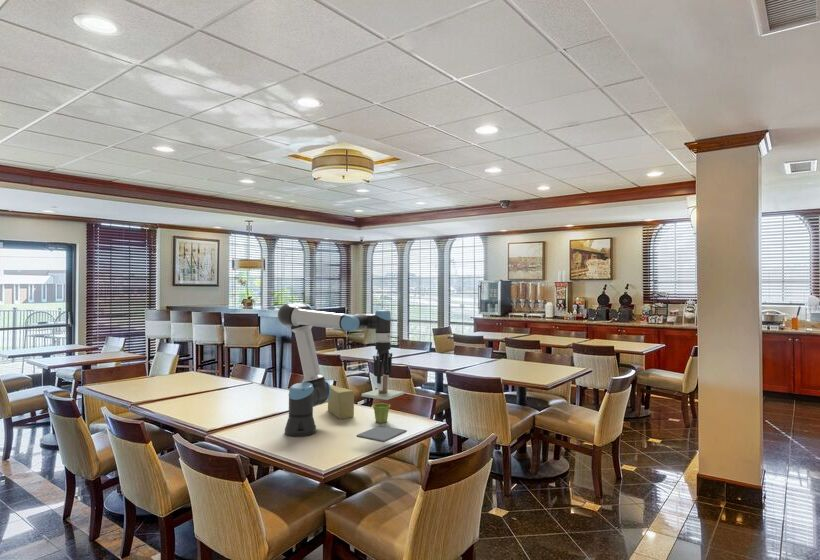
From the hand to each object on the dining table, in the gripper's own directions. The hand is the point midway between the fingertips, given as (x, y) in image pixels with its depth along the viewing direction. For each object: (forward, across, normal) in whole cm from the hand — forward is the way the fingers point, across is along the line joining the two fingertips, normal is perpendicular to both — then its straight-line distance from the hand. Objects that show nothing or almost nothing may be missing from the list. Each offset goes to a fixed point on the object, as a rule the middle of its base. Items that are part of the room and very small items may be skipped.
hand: (382, 389), depth 232 cm
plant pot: (+22, +18, +13) cm, 31 cm away
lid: (+3, 0, 0) cm, 3 cm away
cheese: (+22, +17, +43) cm, 52 cm away
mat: (+22, 0, 0) cm, 22 cm away
